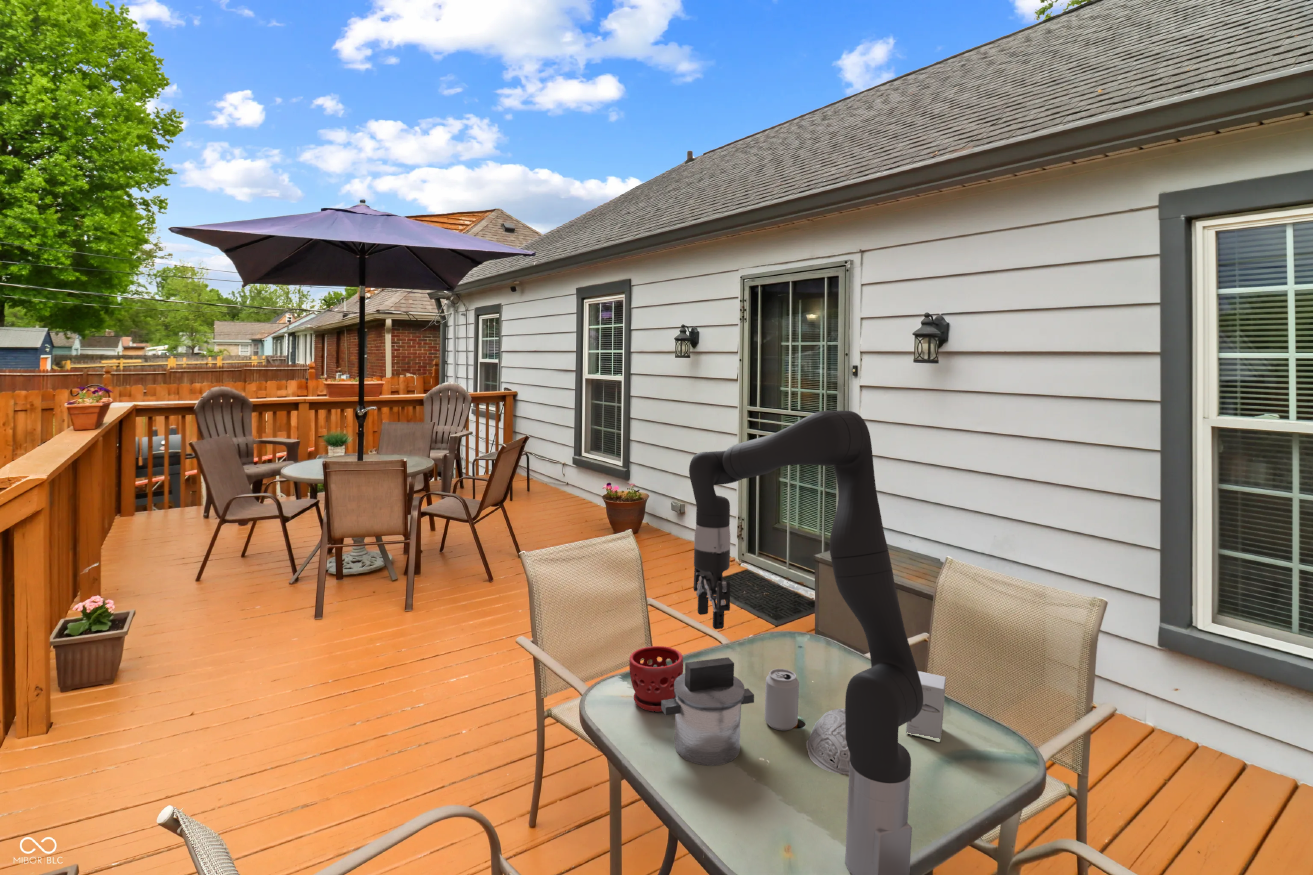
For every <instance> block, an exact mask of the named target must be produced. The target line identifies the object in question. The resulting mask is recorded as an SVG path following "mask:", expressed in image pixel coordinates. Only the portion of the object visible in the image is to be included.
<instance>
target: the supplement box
mask: <svg viewBox="0 0 1313 875" xmlns="http://www.w3.org/2000/svg"><path fill="white" fill-rule="evenodd" d="M917 671H918V670H917ZM918 674H919V677H920V681H921V685H922V690H923V706H922V709H921V711H920V713H919V714H918V715H917V716H916V717H915V718H913V719H912V720H910V721H908V722H907V723H906V730H905V734H906V733H907V732H908V733H911V734H919V735H924V736H930V737H933V738H939V739H941V740H942V734H941V733H942V732H943V724H944V723H943V721H944V710H945V709H944V707H945V697H946V696H945V694H946V684H947V676H943V675H939V674H934V673H929V672H924V671H918Z"/></svg>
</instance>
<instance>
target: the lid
mask: <svg viewBox="0 0 1313 875" xmlns="http://www.w3.org/2000/svg"><path fill="white" fill-rule="evenodd" d="M684 666H685V667H684V672H683V674H682V675H680V676H679V677H677V679H676V680H675V682H674V694H675V696H676V698H677V699H678V700H679V701H680V702H682V703H683V704H685V705H688V706H690V707H693V708H697V709H702V710H724V709H729V708H732V707H735V706H737V705H738V704H740V703H741V702H742V701H743V699H744V689H745V684H744V683H743V681H742V680H740V678H738V677H736V676H735V662H734V661H733V660H732V659H731V658H730V657H719V658H711V659H704V660H702V659H701V660H696V661H695V660H694V661H686V662H685V663H684Z"/></svg>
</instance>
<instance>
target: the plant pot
mask: <svg viewBox="0 0 1313 875" xmlns="http://www.w3.org/2000/svg"><path fill="white" fill-rule="evenodd" d="M658 658H661V661H659V660H658ZM642 659H643V662H641V661H642ZM668 659H669V660H670V661H671V664H669V665H668V663H667V661H668ZM649 660H651V663H650V664H649V663H648V662H649ZM628 661H629V663H628V664H629V676H630V682H631V685H632V688H633V691H634V693H633V700H634V703H635V704H636V705H637V706H638V707H639V708H641V709H643V710H645V711H650V712H654V711H655V712H654V713H657V712H658V713H659V712H663V711H662V709H661V700H668V699H675V698H676V696H675V694H674V682H675V680H676V679H677V677H679V676H680V675H682V674H684V657H683V654H682V653H681V652H680V651H679V650H677V649H676V648H672V647H669V646H662V645H661V646H660V645H654V646H653V645H652V646H645V647H641V648H639V649H637V650H634V651H633V652H632V653H631V654H630V656H629V660H628ZM654 666H655V667H654Z"/></svg>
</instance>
